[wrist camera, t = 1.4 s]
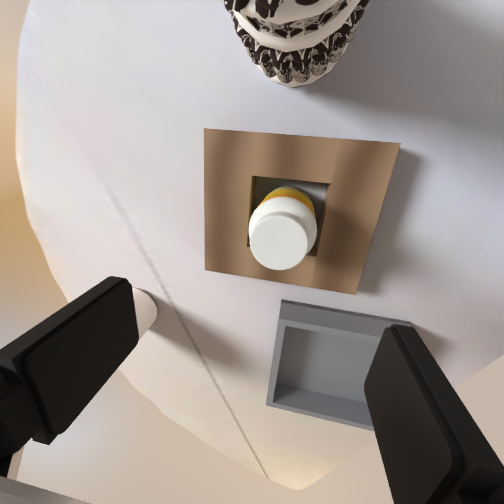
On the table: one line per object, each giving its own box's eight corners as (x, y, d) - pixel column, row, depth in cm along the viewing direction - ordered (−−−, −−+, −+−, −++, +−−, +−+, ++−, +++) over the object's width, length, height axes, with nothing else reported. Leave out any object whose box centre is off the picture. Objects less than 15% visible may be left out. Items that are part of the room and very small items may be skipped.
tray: (409, 321, 27) (423, 345, 24) (373, 404, 33) (380, 432, 30) (281, 299, 29) (279, 318, 26) (269, 381, 35) (265, 405, 32)
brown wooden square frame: (390, 143, 21) (400, 143, 19) (351, 282, 27) (355, 294, 24) (213, 130, 23) (203, 128, 21) (212, 260, 29) (204, 269, 27)
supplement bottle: (316, 232, 25) (322, 277, 17) (266, 238, 27) (248, 282, 18) (310, 180, 23) (315, 199, 15) (257, 189, 25) (232, 212, 16)
